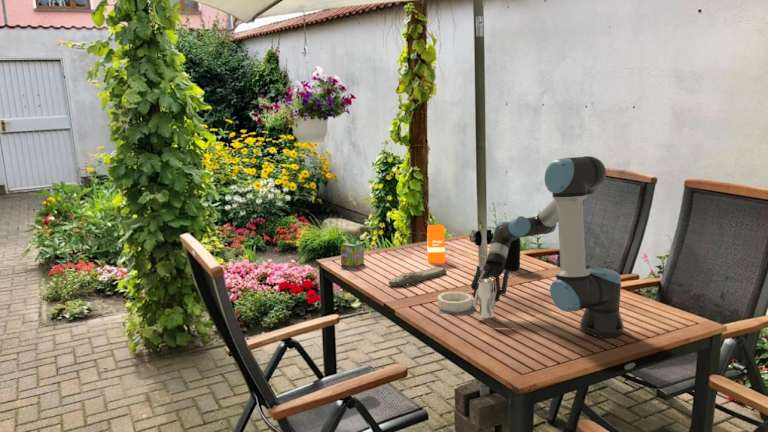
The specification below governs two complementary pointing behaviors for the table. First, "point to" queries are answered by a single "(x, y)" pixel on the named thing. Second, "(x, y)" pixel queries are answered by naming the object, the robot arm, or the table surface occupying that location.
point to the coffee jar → (513, 256)
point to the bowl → (454, 301)
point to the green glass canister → (352, 253)
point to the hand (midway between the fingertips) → (483, 306)
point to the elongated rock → (416, 276)
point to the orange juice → (436, 244)
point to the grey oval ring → (470, 311)
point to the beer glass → (486, 297)
